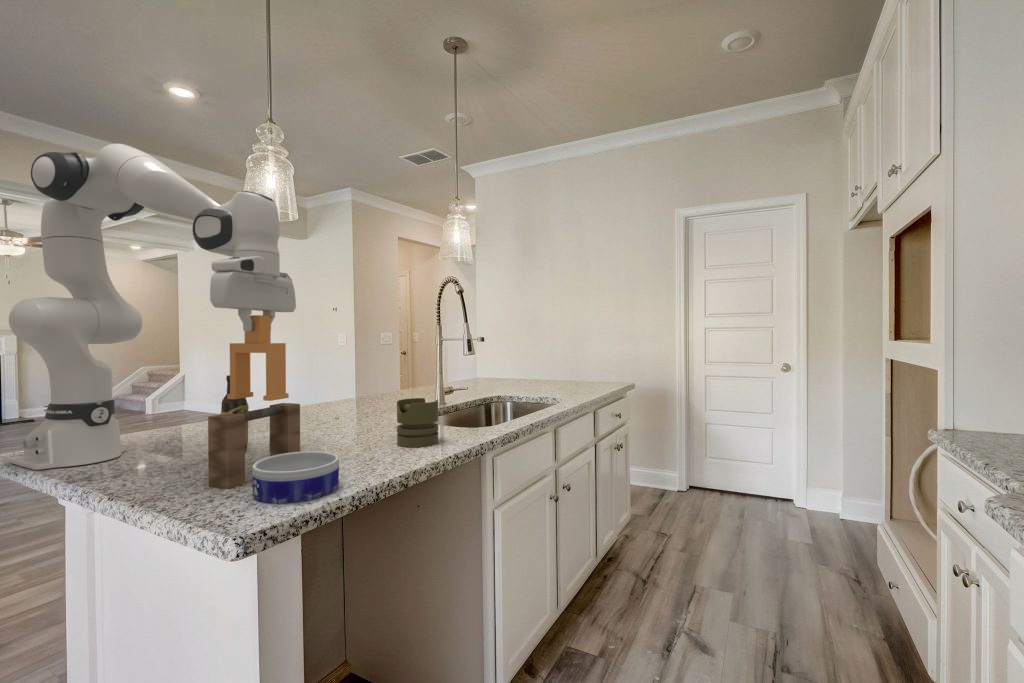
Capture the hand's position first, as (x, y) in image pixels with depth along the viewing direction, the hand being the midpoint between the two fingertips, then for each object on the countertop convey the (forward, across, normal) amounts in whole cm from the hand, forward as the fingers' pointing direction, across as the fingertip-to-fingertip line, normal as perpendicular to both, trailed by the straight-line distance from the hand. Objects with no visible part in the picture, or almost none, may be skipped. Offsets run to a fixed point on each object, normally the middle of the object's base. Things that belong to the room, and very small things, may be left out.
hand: (257, 331), depth 102 cm
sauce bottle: (+31, -15, -22) cm, 41 cm away
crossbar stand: (+31, 0, 0) cm, 31 cm away
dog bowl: (+32, +7, +16) cm, 36 cm away
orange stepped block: (+15, 0, 0) cm, 15 cm away
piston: (+31, -36, +20) cm, 52 cm away
